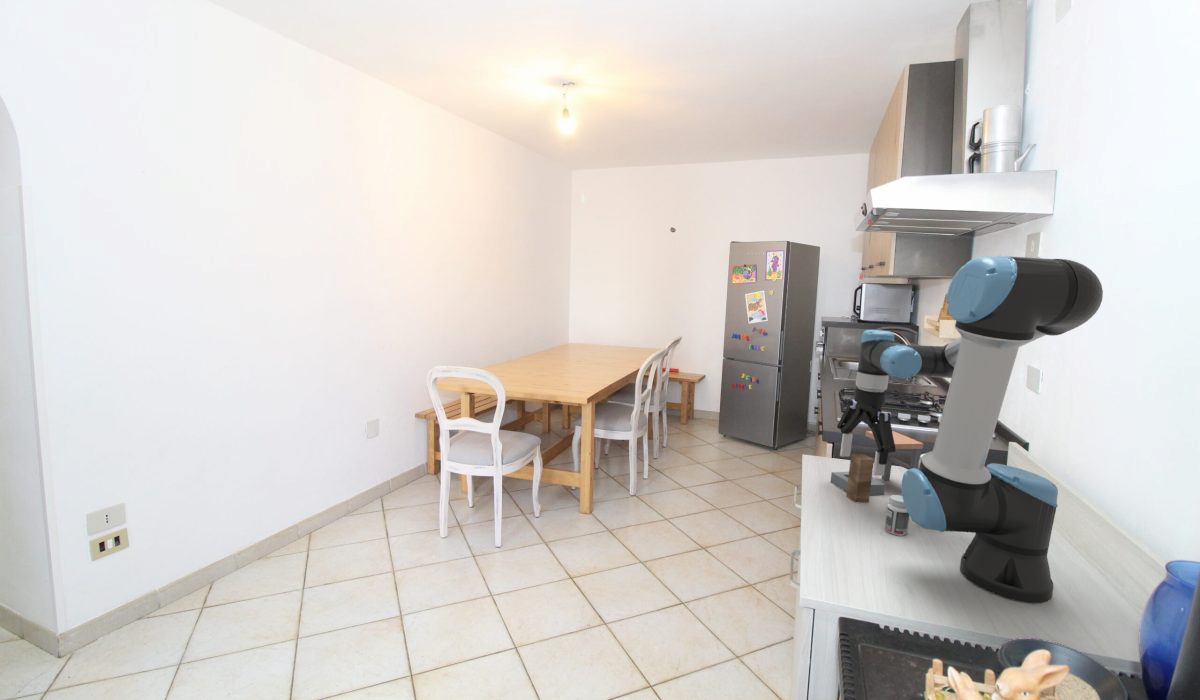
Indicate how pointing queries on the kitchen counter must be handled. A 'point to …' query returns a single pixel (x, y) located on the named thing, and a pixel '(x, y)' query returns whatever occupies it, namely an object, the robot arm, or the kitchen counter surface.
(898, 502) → the pill bottle
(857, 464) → the peg
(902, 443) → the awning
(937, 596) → the kitchen counter surface
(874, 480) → the socket block
